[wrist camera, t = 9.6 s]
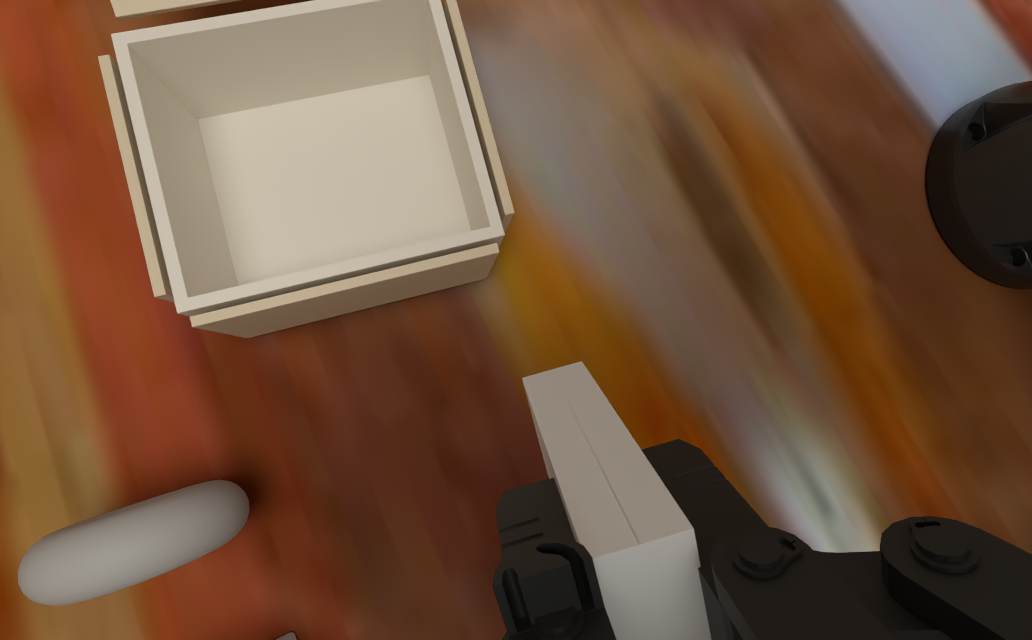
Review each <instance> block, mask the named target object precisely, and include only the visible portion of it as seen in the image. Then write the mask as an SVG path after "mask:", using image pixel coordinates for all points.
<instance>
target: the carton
mask: <svg viewBox="0 0 1032 640" xmlns="http://www.w3.org/2000/svg"><path fill="white" fill-rule="evenodd" d="M111 36H112V40H113V44H114V49H115V53H116V57H117V61H118V63H117V62H116V61H115V60H114V59H113V58H112V57H111V56H110V55H104V56H98V59H99V63H100V67H101V72H102V76H103V80H104V84H105V89H106V93H107V97H108V101H109V106H110V110H111V114H112V118H113V123H114V127H115V131H116V135H117V140H118V144H119V148H120V152H121V157H122V161H123V165H124V169H125V174H126V178H127V182H128V186H129V191H130V195H131V199H132V203H133V208H134V212H135V216H136V220H137V225H138V229H139V233H140V237H141V242H142V246H143V250H144V254H145V259H146V263H147V267H148V271H149V276H150V280H151V284H152V288H153V292H154V297H156V298H160V299H164V300H167V301H171V302H174V303H175V306H176V310H177V313H178V314H182V315H186V316H191V317H190V319H191V324H192V327H195V328H200V329H204V330H209V331H214V332H219V333H224V334H229V335H234V336H239V337H244V338H250V337H254V336H258V335H262V334H266V333H270V332H274V331H278V330H282V329H286V328H290V327H294V326H298V325H302V324H306V323H310V322H314V321H318V320H322V319H326V318H330V317H334V316H338V315H342V314H346V313H350V312H354V311H358V310H362V309H366V308H370V307H374V306H378V305H382V304H386V303H390V302H394V301H398V300H402V299H406V298H410V297H414V296H418V295H422V294H426V293H430V292H434V291H438V290H442V289H446V288H450V287H454V286H458V285H462V284H466V283H470V282H474V281H478V280H482V279H486V278H487V277H488V275H489V273H490V271H491V268H492V266H493V264H494V262H495V260H496V258H497V256H498V254H499V249H498V248H499V246H500V244H501V242H502V240H503V238H504V236H505V232H506V230H507V228H508V226H509V224H510V222H511V219H512V217H513V215H514V213H515V212H514V209H513V205H512V201H511V198H510V194H509V191H508V187H507V183H506V180H505V176H504V172H503V169H502V165H501V162H500V158H499V154H498V151H497V147H496V143H495V140H494V136H493V133H492V129H491V125H490V122H489V118H488V114H487V111H486V107H485V104H484V100H483V96H482V93H481V89H480V85H479V82H478V78H477V75H476V71H475V67H474V64H473V60H472V56H471V53H470V49H469V46H468V42H467V38H466V35H465V31H464V27H463V24H462V20H461V17H460V13H459V9H458V6H457V2H456V0H445V15H444V11H443V8H442V4H441V0H313V1H307V2H301V3H295V4H289V5H283V6H277V7H271V8H265V9H259V10H253V11H247V12H241V13H235V14H229V15H223V16H217V17H211V18H205V19H199V20H193V21H187V22H181V23H175V24H169V25H163V26H157V27H151V28H145V29H139V30H133V31H127V32H121V33H115V34H111Z"/></svg>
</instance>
